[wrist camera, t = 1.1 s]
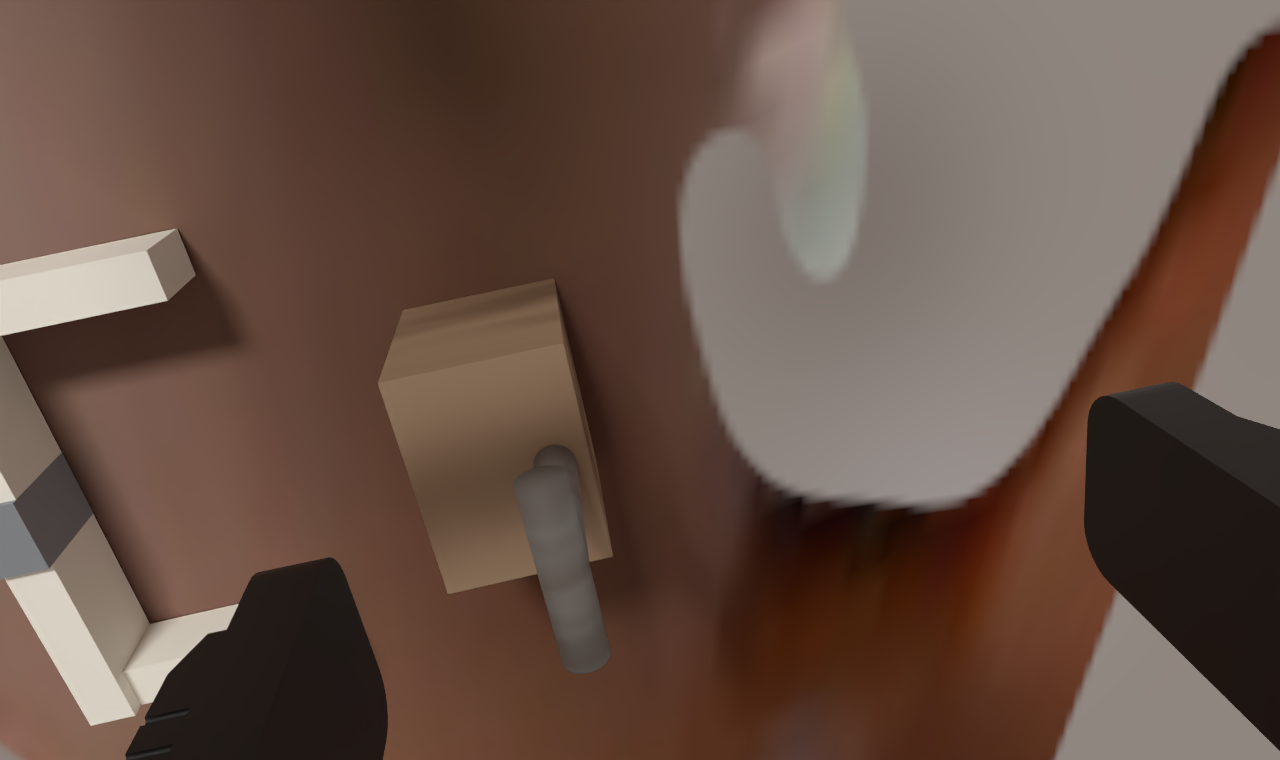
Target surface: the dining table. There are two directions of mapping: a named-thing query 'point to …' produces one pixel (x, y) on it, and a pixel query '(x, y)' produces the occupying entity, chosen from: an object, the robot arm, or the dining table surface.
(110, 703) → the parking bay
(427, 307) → the tan block
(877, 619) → the dining table surface
